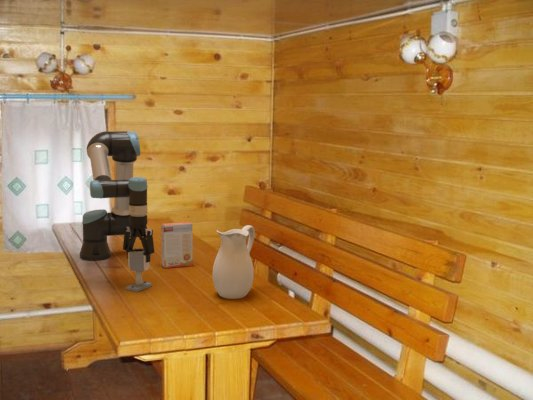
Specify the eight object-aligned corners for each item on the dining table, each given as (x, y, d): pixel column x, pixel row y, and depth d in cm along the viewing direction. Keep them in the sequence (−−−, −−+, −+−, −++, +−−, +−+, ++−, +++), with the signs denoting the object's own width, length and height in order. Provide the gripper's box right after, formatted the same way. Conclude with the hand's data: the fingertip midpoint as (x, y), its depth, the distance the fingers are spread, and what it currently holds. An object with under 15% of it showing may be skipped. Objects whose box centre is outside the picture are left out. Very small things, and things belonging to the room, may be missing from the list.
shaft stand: (125, 289, 267) (125, 271, 266) (140, 283, 276) (140, 265, 275) (136, 291, 264) (136, 273, 263) (152, 285, 273) (151, 267, 272)
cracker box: (189, 263, 311) (189, 221, 308) (192, 266, 306) (193, 223, 302) (161, 265, 306) (160, 222, 302) (164, 268, 300) (163, 225, 297)
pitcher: (238, 304, 252) (239, 235, 247) (203, 296, 261) (204, 229, 256) (269, 289, 272) (271, 225, 267) (237, 282, 281) (238, 220, 276)
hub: (126, 269, 267) (125, 250, 266) (137, 265, 274) (137, 247, 272) (140, 272, 264) (139, 253, 263) (151, 267, 270) (151, 249, 269)
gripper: (113, 213, 266) (114, 266, 270) (152, 218, 257) (152, 273, 261) (125, 210, 273) (125, 262, 277) (163, 216, 264) (163, 269, 267)
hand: (138, 268), depth 269 cm, fingers closed on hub, 7 cm apart
